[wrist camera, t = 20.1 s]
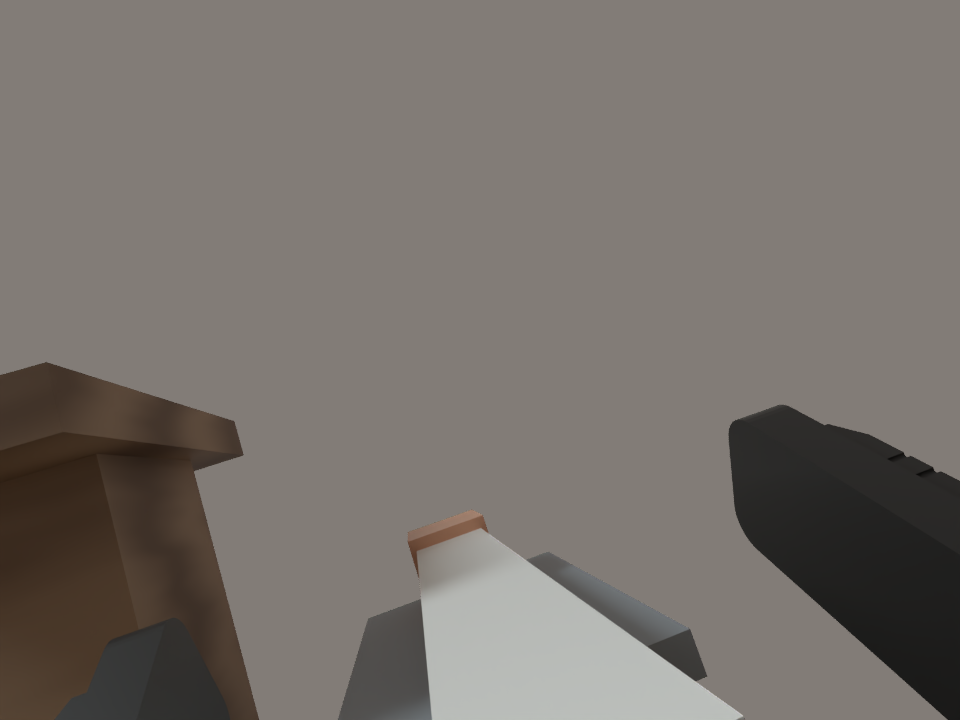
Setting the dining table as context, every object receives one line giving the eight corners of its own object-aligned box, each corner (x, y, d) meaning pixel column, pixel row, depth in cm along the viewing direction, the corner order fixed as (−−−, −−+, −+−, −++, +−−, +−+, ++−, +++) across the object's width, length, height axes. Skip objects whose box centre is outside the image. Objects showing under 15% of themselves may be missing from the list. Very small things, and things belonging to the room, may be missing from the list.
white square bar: (895, 1048, 4) (746, 653, 5) (530, 1255, 4) (398, 801, 4) (493, 575, 26) (471, 509, 26) (428, 599, 26) (408, 532, 26)
